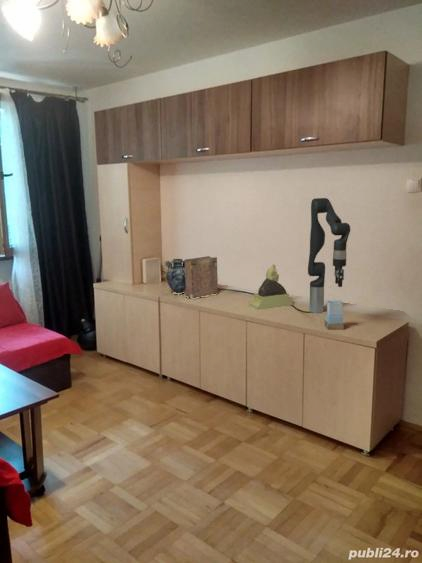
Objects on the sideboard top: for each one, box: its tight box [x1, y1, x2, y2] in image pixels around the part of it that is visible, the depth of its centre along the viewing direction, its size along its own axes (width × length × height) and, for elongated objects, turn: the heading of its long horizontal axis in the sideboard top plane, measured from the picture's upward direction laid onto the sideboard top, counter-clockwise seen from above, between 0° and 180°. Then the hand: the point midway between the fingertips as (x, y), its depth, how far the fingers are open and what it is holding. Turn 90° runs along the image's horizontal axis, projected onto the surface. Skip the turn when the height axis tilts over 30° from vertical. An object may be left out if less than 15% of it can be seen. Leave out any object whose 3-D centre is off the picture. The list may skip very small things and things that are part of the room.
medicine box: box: [326, 299, 344, 316], centre depth 268 cm, size 8×4×9 cm, turn 92°
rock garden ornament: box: [248, 264, 294, 311], centre depth 322 cm, size 28×13×30 cm, turn 113°
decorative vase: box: [165, 258, 187, 293], centre depth 369 cm, size 21×19×28 cm
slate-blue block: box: [324, 313, 344, 324], centre depth 269 cm, size 8×8×4 cm
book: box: [184, 255, 219, 298], centre depth 357 cm, size 25×9×30 cm, turn 131°
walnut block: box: [324, 319, 345, 331], centre depth 270 cm, size 9×9×4 cm
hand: (338, 285), depth 268 cm, fingers open, 8 cm apart
